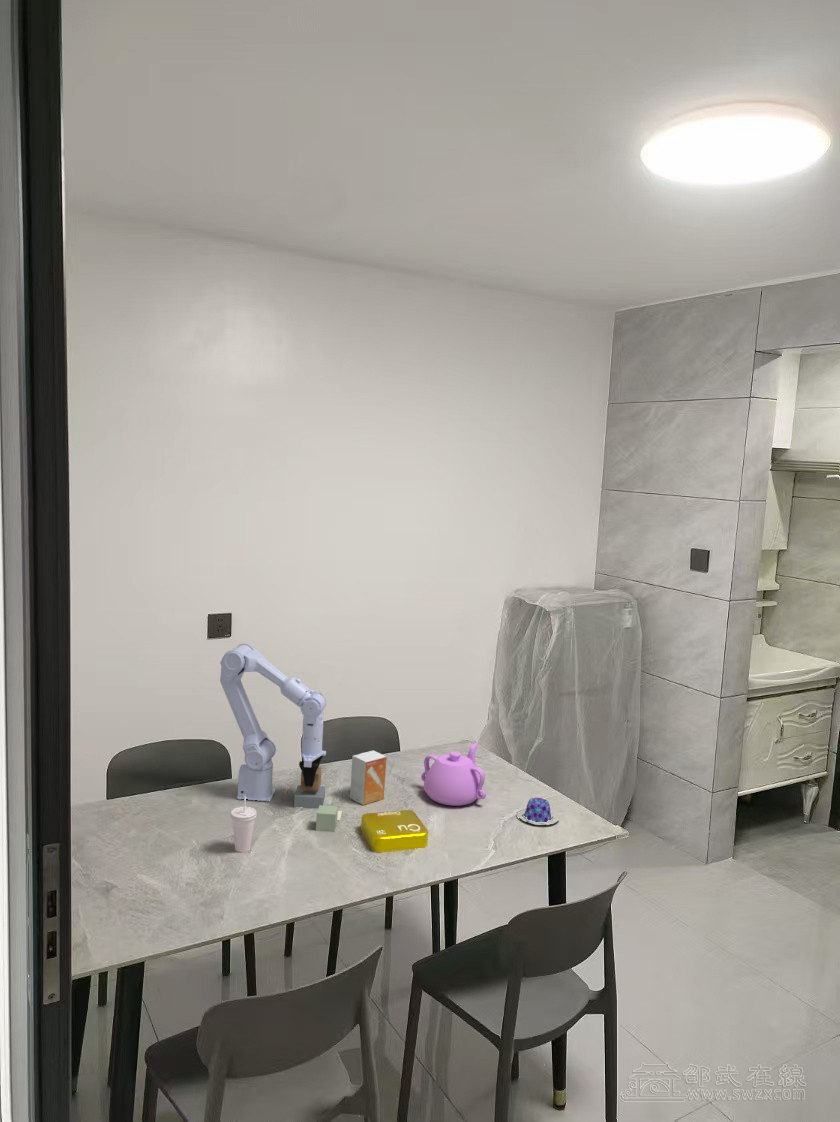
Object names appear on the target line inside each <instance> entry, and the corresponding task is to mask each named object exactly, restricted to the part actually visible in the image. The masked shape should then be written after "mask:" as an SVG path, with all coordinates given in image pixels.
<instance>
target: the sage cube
mask: <svg viewBox="0 0 840 1122" xmlns="http://www.w3.org/2000/svg"><path fill="white" fill-rule="evenodd" d="M338 811H339V806H336V805H324V804H323V805H319V808H317V811H316V817H315V818H316V821H315V824H316V825H315V832H316V831H317V832H325V831H328V832H329V833H335V832H336V828H337V825H338V821H337V816H338Z"/></svg>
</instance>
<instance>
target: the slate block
mask: <svg viewBox="0 0 840 1122" xmlns="http://www.w3.org/2000/svg"><path fill="white" fill-rule="evenodd" d="M296 786H297V787H296V789H295V794H294V800H293V801H294V802H293V808H294V807H303V808H302V809H318V808H319V805H323V806H324V802H325V798H326V797H325V796H326V786H321V785H320V787H319V790H318V791H306V790H300V788H301V784H299V785H298V784H297V785H296Z"/></svg>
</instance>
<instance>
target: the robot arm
mask: <svg viewBox="0 0 840 1122" xmlns="http://www.w3.org/2000/svg"><path fill="white" fill-rule="evenodd" d="M219 663H220V665H221V666H220V667H221V668H220V678H219V680H220V681H219V682H220V685H221V686H222V689H223V693H224V694H225V696H226V697H225V698H226V699H227V701H228V704H229V706H230V708H231V711H232V713H233V716H234V718H235V720H236V721H235V722H236V723H237V725H238V727H239V729H240V732H241V735H242V737H243V742H242V744H243V745H242V750H243V753H244V763H245V764H244V763H243V764H240V766H239V770H238V777H237V779H238V781H237V797H236V799H237V798H238V799H237V800H241V799H244V796H246V799H248V800H247V801H255V800H257V802H258V801H259V802H271V800H272V798H273V796H274V794H275V792H276V788H273V770H274V768H273V767H274V766H273V765H274V763H273V758H274V756H275V755H276V751H277V746H276V744H275V742H274V741H272V740H271V739H270V737H269V736H268V733H267V732H265V730H263V729H262V728H261V726H260V723H259V720H258V718H257V716H256V714H255V711H254V708H253V707H252V704H251V702H250V700H249V698H248V695H247V692H246V690H245V687H244V685H243V682H242V678H243V675H244V674H245V673H251V672H256V673H259V674H260V675H261V676H262V677H264V678H266V679H267V680H269V681H271V682H272V683H273V684H274V685H276V686H278V687H279V688H280V689H279V690H280V693H281V695H283V696H284V697H285V698H286V699H288V700H289V701H290V702H291V703H293V704H294V705H296V706H297V707H299V708H300V712H301V714H302V715H303V716H302V717H303V720H302V733H301V734H302V736H301V737H302V738H301V749H300V755H301V757H302V759H303V760H299V763H298V767H299V768H300V770H301V772H302V773H303V778H304V783H305V786H308V787H312V786H313V783H314V779H315V774H316V771H317V769H318V767H319V768H320V764H321V761H322V758H323V757H324V756H326V755H327V751H326V750H323V737H324V731H323V730H324V710H325V709H326V706H327V699H326V697H325V695H323V693H322V692H320V691H315V690H314V689H310V688H309V687H308V686H306V685H305V684H304V683H303V682H302V680H301V679H300V678H299V677H298V678H296V677H294V676H291V677H288V676H287V675H286V674H284V673H283V672H282V671H280V670H279V669H278V668H277V667H276V666H275V665H274V664H272V663H271V662H270V661H269V660H267V659H266V658H265V656H263V655H262V653H261V652H260V651H259V650H257V649H255V648H254V647H253V646H252V645H250V644H248V643H239V645H237V646H236V647H234V648H232V649H231V650H228V651H227V652H225V653H224V655H223V656H222V657H221V660H220V662H219Z"/></svg>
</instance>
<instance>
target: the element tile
mask: <svg viewBox="0 0 840 1122" xmlns="http://www.w3.org/2000/svg"><path fill="white" fill-rule="evenodd" d="M360 818H361V820H360V832H361V834H362V835H363V837H364V839H365V841H366V842H367V844H368V846H369V848H370V849H371V851H372V852H375V853H379V854H380V853H389V852H399V851H408V850H409V849H410V850H411V849H412V850H418V849H417V848H422V849H425V848H427V847H428V842H429V841H428V840H429V830H428V829H427V828H426V826H425V824H424V823H423V821H422V820H421V819H420V817H419V816H418V815H417V813H415V811H413V810H412V809H411V810H410V809H408V810H407V809H406V810H405V809H404V810H393V811H381V812H370V813H369V812H367V813H364V814H362V815H361V817H360ZM426 846H427V847H426ZM415 848H416V849H415Z"/></svg>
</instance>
